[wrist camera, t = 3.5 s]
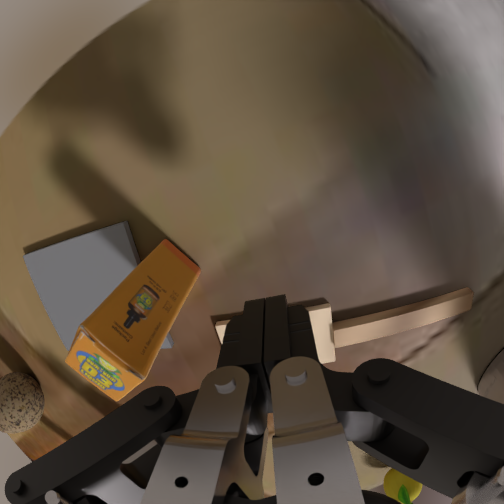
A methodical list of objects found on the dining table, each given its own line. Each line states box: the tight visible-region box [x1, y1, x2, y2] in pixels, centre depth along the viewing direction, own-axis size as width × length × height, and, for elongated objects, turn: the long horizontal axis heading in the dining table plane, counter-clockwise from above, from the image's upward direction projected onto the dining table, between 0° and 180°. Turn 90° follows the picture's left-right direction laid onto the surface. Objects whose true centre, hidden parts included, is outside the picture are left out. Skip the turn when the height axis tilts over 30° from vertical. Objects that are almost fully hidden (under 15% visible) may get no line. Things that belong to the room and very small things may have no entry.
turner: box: [215, 287, 474, 364], centre depth 19 cm, size 20×5×1 cm, turn 103°
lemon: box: [384, 468, 422, 504], centre depth 23 cm, size 7×6×10 cm
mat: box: [23, 221, 174, 351], centre depth 20 cm, size 12×10×1 cm
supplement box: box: [65, 239, 201, 401], centre depth 14 cm, size 3×3×10 cm
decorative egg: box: [0, 372, 44, 433], centre depth 22 cm, size 7×7×10 cm
